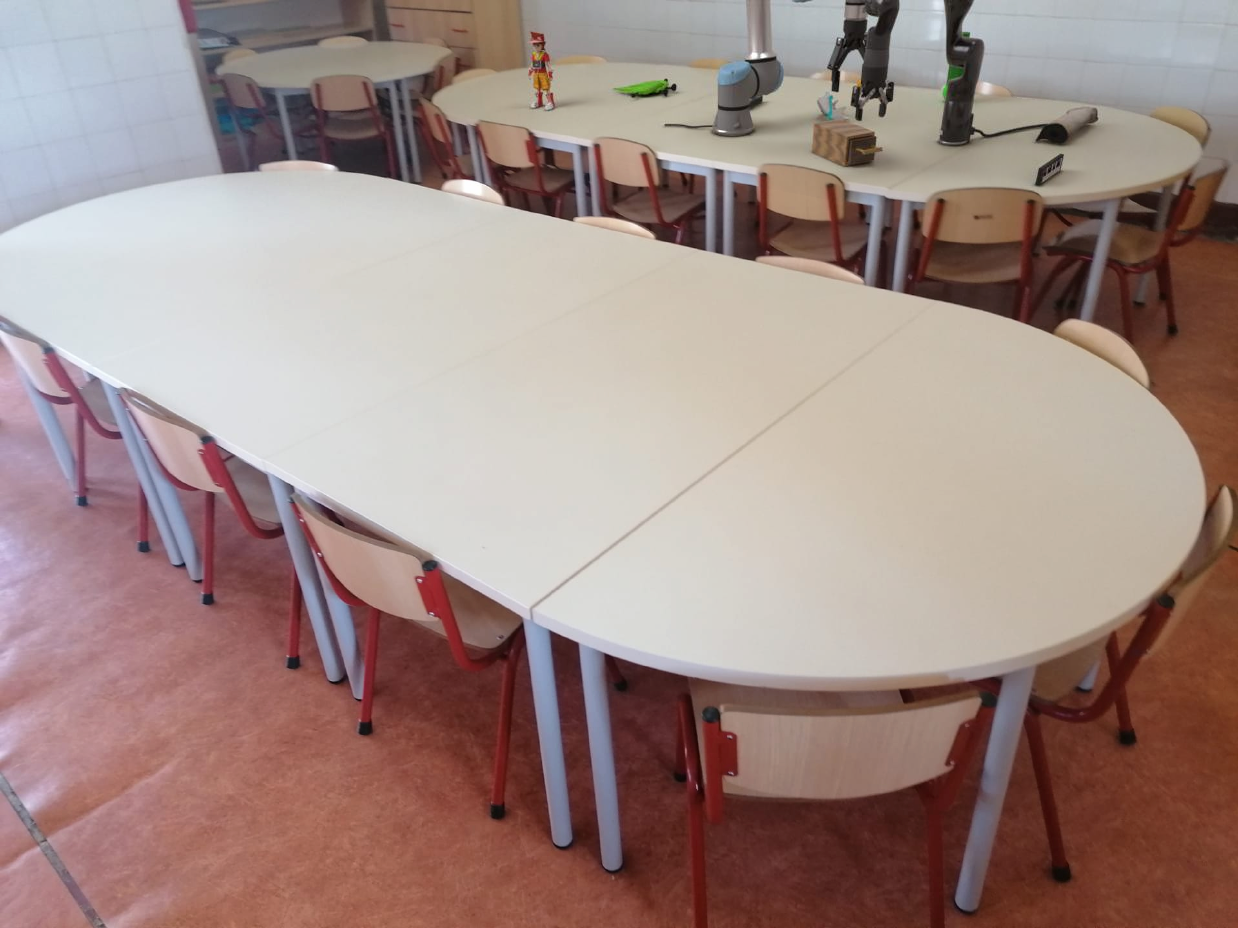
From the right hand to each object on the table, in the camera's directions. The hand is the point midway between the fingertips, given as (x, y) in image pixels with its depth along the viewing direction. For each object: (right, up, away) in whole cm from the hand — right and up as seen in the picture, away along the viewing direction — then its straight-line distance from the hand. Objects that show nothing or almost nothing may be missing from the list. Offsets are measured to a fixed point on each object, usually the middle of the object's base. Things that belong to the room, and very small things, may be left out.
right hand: (870, 118), depth 284 cm
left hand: (-2, +17, +18) cm, 25 cm away
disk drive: (-28, +38, +84) cm, 96 cm away
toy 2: (-70, +55, +113) cm, 144 cm away
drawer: (-2, -7, +15) cm, 17 cm away
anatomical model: (+2, +23, +60) cm, 65 cm away
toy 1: (-112, +43, +99) cm, 156 cm away
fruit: (+23, +44, +88) cm, 100 cm away
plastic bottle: (+53, +34, +71) cm, 95 cm away
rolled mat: (+76, +5, +28) cm, 81 cm away
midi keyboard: (+52, -22, -9) cm, 57 cm away
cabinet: (-4, -5, +20) cm, 21 cm away
